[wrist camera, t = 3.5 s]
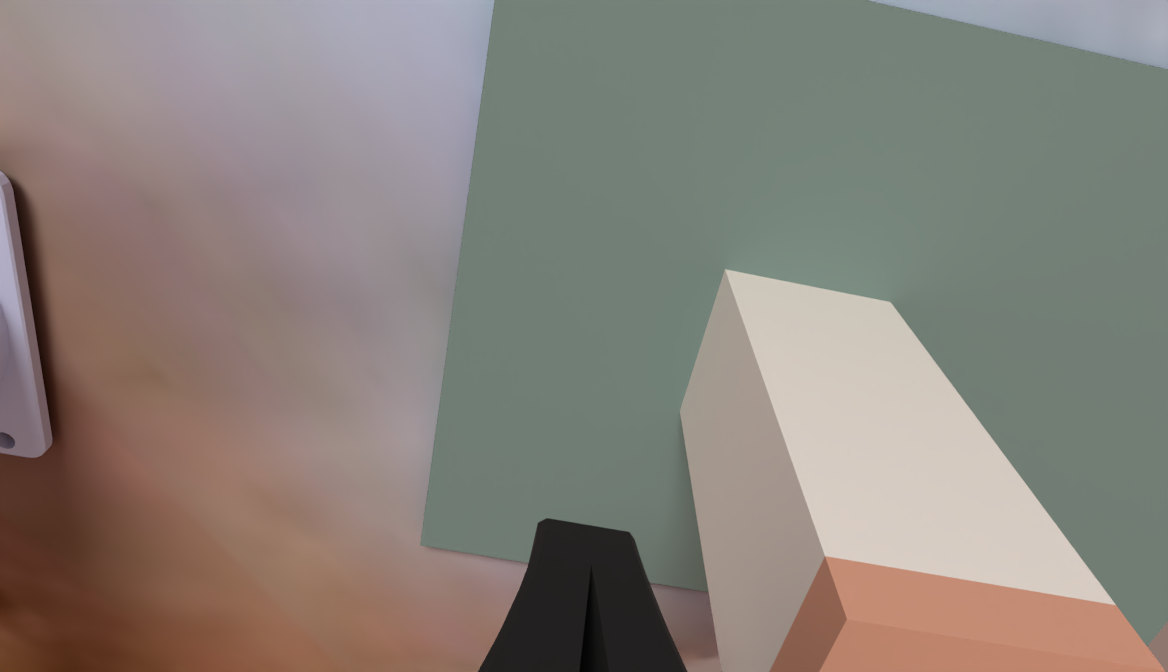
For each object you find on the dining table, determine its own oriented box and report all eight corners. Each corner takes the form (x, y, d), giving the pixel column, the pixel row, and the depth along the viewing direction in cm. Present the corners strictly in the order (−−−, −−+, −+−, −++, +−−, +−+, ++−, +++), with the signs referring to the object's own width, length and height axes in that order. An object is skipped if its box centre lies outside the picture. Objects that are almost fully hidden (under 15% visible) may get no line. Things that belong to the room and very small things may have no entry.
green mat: (423, 535, 22) (420, 545, 22) (507, -83, 15) (506, -83, 14) (1127, 650, 24) (1134, 661, 24) (1525, 152, 17) (1546, 157, 16)
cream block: (679, 411, 20) (743, 814, 11) (724, 269, 18) (847, 618, 9) (830, 438, 20) (1010, 851, 11) (890, 301, 18) (1164, 670, 9)
